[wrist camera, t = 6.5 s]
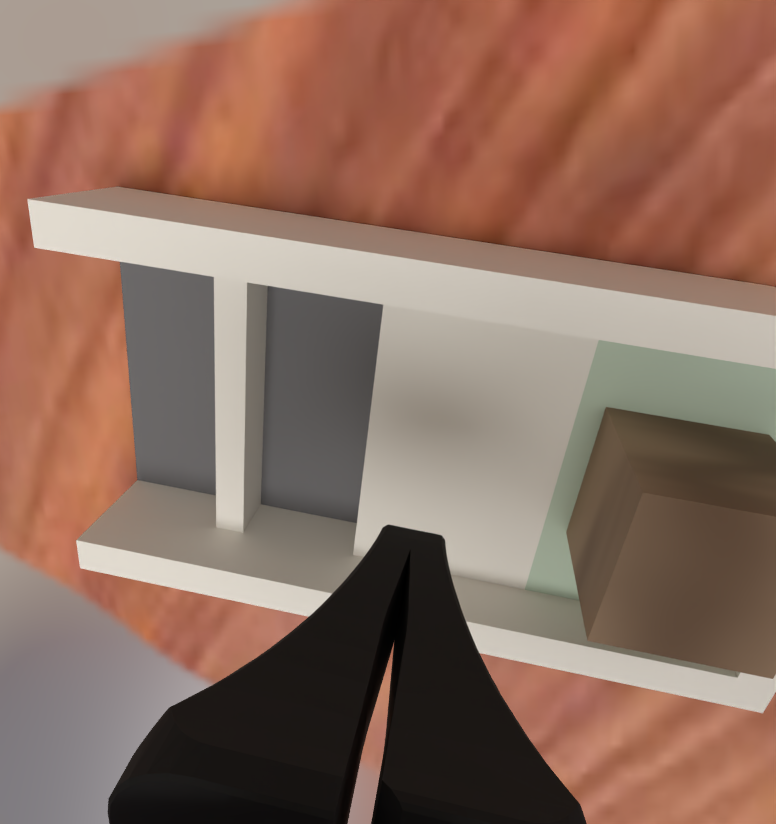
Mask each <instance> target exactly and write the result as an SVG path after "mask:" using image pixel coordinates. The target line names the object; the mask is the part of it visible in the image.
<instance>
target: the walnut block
mask: <svg viewBox="0 0 776 824" xmlns="http://www.w3.org/2000/svg"><path fill="white" fill-rule="evenodd" d="M566 534H567V539H568V545H569V550H570V555H571V560H572V565H573V570H574V575H575V581H576V586H577V591H578V596H579V601H580V606H581V611H582V616H583V622H584V627H585V632H586V637H587V641H590V642H595V643H600V644H605V645H610V646H615V647H620V648H624V649H629V650H634V651H639V652H644V653H649V654H654V655H658V656H663V657H668V658H673V659H678V660H683V661H688V662H692V663H697V664H702V665H707V666H712V667H717V668H722V669H726V670H731V671H736V672H741V673H746V674H751V675H756V676H760V677H765V678H770V679H773V678H774V676H775V675H776V442H775V441H774V440H773V438H772V437H771V436H770V435H768V434H762V433H756V432H750V431H744V430H738V429H733V428H727V427H721V426H715V425H709V424H703V423H698V422H692V421H686V420H680V419H674V418H668V417H663V416H657V415H651V414H645V413H639V412H633V411H627V410H622V409H616V408H610V407H606V408H605V411H604V415H603V418H602V421H601V424H600V427H599V430H598V433H597V437H596V440H595V443H594V446H593V449H592V452H591V456H590V459H589V462H588V465H587V468H586V471H585V474H584V478H583V481H582V484H581V487H580V490H579V493H578V497H577V500H576V503H575V506H574V509H573V512H572V516H571V519H570V522H569V525H568V528H567V531H566Z"/></svg>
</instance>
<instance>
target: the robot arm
mask: <svg viewBox="0 0 776 824" xmlns="http://www.w3.org/2000/svg"><path fill="white" fill-rule="evenodd" d="M393 643H394V650H393V661H392V672H391V683H390V695H389V706H388V717H387V728H386V738H385V746H384V753H383V760H382V766H381V771H380V777H379V783H378V789H377V794H376V800H375V806H374V811H373V817H372V822H371V824H586V820H585V817H584V814H583V811H582V808H581V806H580V804H579V803H578V801H577V800H576V799H575V798H574V797H573V795H572V794H571V793H570V792H569V790H568V789H567V788H566V787H565V786H564V784H563V783H562V782H561V781H560V780H559V778H558V777H557V776H556V775H555V774H554V772H553V771H552V770H551V768H550V767H549V766H548V765H547V763H546V762H545V761H544V759H543V758H542V756H541V755H540V754H539V752H538V751H537V749H536V748H535V747H534V745H533V744H532V742H531V741H530V740H529V738H528V737H527V735H526V734H525V732H524V731H523V729H522V728H521V726H520V724H519V723H518V721H517V720H516V718H515V716H514V715H513V713H512V712H511V710H510V709H509V707H508V705H507V704H506V702H505V701H504V699H503V697H502V696H501V694H500V692H499V690H498V688H497V687H496V685H495V683H494V681H493V679H492V678H491V676H490V674H489V672H488V670H487V668H486V666H485V664H484V662H483V660H482V658H481V656H480V654H479V651H478V649H477V647H476V645H475V642H474V640H473V638H472V635H471V633H470V630H469V628H468V625H467V623H466V620H465V618H464V615H463V612H462V609H461V606H460V603H459V600H458V597H457V594H456V591H455V588H454V584H453V581H452V577H451V573H450V569H449V564H448V559H447V553H446V544H445V539H444V538H443V536H442V535H439V534H434V533H429V532H424V531H419V530H414V529H409V528H404V527H399V526H394V525H389V524H388V525H386V526H384V527H383V528H382V530H381V532H380V534H379V535H378V537H377V539H376V540H375V542H374V543H373V545H372V546H371V548H370V549H369V551H368V552H367V553H366V555H365V556H364V557H363V559H362V560H361V561H360V563H359V564H358V565H357V566H356V567H355V569H354V570H353V571H352V572H351V574H350V575H349V576H348V577H347V578H346V580H345V581H344V582H343V583H342V584H341V585H340V586H339V587H338V588H337V589H336V590H335V591H334V592H333V593H332V595H331V596H330V597H329V598H328V599H327V600H326V601H325V602H324V603H323V604H322V605H321V606H320V607H319V608H318V609H317V610H316V611H315V612H314V613H312V614H311V615H310V616H309V617H308V618H307V619H306V620H305V621H303V622H302V623H301V624H300V625H299V626H298V627H297V628H295V629H294V630H293V631H292V632H290V633H289V634H288V635H287V636H285V637H284V638H283V639H281V640H280V641H279V642H278V643H276V644H275V645H274V646H272V647H271V648H270V649H268V650H267V651H266V652H264V653H263V654H261V655H260V656H259V657H257V658H256V659H254V660H252V661H251V662H249V663H248V664H246V665H245V666H243V667H241V668H240V669H238V670H237V671H235V672H234V673H232V674H230V675H229V676H227V677H226V678H224V679H222V680H221V681H219V682H217V683H216V684H214V685H212V686H210V687H208V688H206V689H204V690H202V691H200V692H199V693H197V694H195V695H193V696H191V697H189V698H187V699H185V700H183V701H181V702H179V703H178V704H176V705H173V706H171V707H170V708H169V709H168V710H167V711H166V712H165V713H164V714H163V716H162V717H161V718H160V719H159V721H158V722H157V723H156V725H155V726H154V727H153V728H152V730H151V731H150V732H149V734H148V735H147V736H146V738H145V739H144V741H143V742H142V743H141V744H140V746H139V747H138V749H137V750H136V752H135V753H134V755H133V756H132V758H131V760H130V762H129V763H128V766H127V767H126V769H125V771H124V773H123V774H122V776H121V778H120V780H119V781H118V783H117V785H116V787H115V788H114V790H113V792H112V794H111V796H110V797H109V801H108V817H109V823H110V824H347V823H348V818H349V813H350V807H351V803H352V798H353V793H354V788H355V784H356V778H357V773H358V769H359V764H360V759H361V754H362V750H363V746H364V742H365V738H366V734H367V731H368V727H369V724H370V721H371V717H372V714H373V710H374V707H375V704H376V700H377V697H378V694H379V690H380V687H381V684H382V680H383V677H384V674H385V670H386V667H387V663H388V660H389V657H390V653H391V650H392V647H393Z"/></svg>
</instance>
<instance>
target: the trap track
mask: <svg viewBox="0 0 776 824" xmlns="http://www.w3.org/2000/svg"><path fill="white" fill-rule="evenodd" d="M27 200H28V207H29V214H30V220H31V227H32V234H33V241H34V248H40V249H46V250H53V251H59V252H65V253H71V254H77V255H83V256H89V257H95V258H101V259H108V260H114V261H120V268H121V281H122V293H123V306H124V318H125V331H126V343H127V355H128V368H129V380H130V393H131V405H132V418H133V430H134V442H135V455H136V467H137V481H136V482H135V483H134V484H133V485H132V486H131V487H130V488H129V489H128V490H127V491H126V492H125V493H124V494H123V495H122V496H121V497H120V498H119V499H118V500H117V501H116V502H115V503H114V504H113V505H112V506H111V507H110V508H109V509H108V510H107V511H106V512H104V513H103V514H102V515H101V516H100V517H99V518H98V519H97V520H96V521H95V522H94V523H93V524H92V525H91V526H90V527H89V528H88V529H87V530H86V531H85V532H84V533H83V534H82V535H81V536H80V537H79V538H78V539H77V540H76V542H77V549H78V556H79V563H80V568H82V569H87V570H92V571H96V572H101V573H106V574H110V575H115V576H120V577H125V578H129V579H134V580H139V581H143V582H148V583H153V584H158V585H162V586H167V587H172V588H176V589H181V590H186V591H191V592H195V593H200V594H205V595H209V596H214V597H219V598H223V599H228V600H233V601H238V602H242V603H247V604H252V605H256V606H261V607H266V608H271V609H275V610H280V611H285V612H289V613H294V614H299V615H303V616H308V617H309V616H310V615H311V614H312V613H314V612H315V611H316V610H317V609H318V608H319V607H320V606H321V605H322V604H323V603H324V602H325V601H326V600H327V599H328V598H329V597H330V596H331V595H332V593H333V592H334V591H335V590H336V589H337V588H338V587H339V586H340V585H341V584H342V583H343V582H344V581H345V580H346V578H347V577H348V576H349V575H350V574H351V572H352V571H353V570H354V569H355V567H356V566H357V565H358V564H359V563H360V561H361V560H362V559H363V557H364V556H365V555H366V553H367V552H368V551H369V549H370V548H371V546H372V545H373V543H374V542H375V540H376V539H377V537H378V535H379V534H380V532H381V530H382V528H383V527H384V526H386V525H388V524H389V525H394V526H399V527H404V528H409V529H414V530H419V531H424V532H429V533H434V534H439V535H442V536H443V538H444V539H445V544H446V553H447V559H448V564H449V569H450V573H451V577H452V581H453V584H454V588H455V591H456V594H457V597H458V600H459V603H460V606H461V609H462V612H463V615H464V618H465V620H466V623H467V625H468V628H469V630H470V633H471V635H472V638H473V640H474V642H475V645H476V647H477V649H478V651H479V653H482V654H487V655H492V656H497V657H501V658H506V659H511V660H515V661H520V662H525V663H529V664H534V665H539V666H544V667H548V668H553V669H558V670H562V671H567V672H572V673H577V674H581V675H586V676H591V677H595V678H600V679H605V680H609V681H614V682H619V683H624V684H628V685H633V686H638V687H642V688H647V689H652V690H657V691H661V692H666V693H671V694H675V695H680V696H685V697H690V698H694V699H699V700H704V701H708V702H713V703H718V704H722V705H727V706H732V707H737V708H741V709H746V710H751V711H755V712H760V713H763V712H764V710H765V709H766V707H767V705H768V704H769V702H770V700H771V699H772V697H773V695H774V694H775V692H776V675H775V676H774V678H773V679H770V678H765V677H760V676H756V675H751V674H746V673H741V672H736V671H731V670H726V669H722V668H717V667H712V666H707V665H702V664H697V663H692V662H688V661H683V660H678V659H673V658H668V657H663V656H658V655H654V654H649V653H644V652H639V651H634V650H629V649H624V648H620V647H615V646H610V645H605V644H600V643H595V642H590V641H587V637H586V632H585V627H584V622H583V616H582V611H581V606H580V601H579V596H578V591H577V586H576V581H575V575H574V570H573V565H572V560H571V555H570V550H569V545H568V539H567V534H566V531H567V528H568V525H569V522H570V519H571V516H572V512H573V509H574V506H575V503H576V500H577V497H578V493H579V490H580V487H581V484H582V481H583V478H584V474H585V471H586V468H587V465H588V462H589V459H590V456H591V452H592V449H593V446H594V443H595V440H596V437H597V433H598V430H599V427H600V424H601V421H602V418H603V415H604V411H605V408H606V407H610V408H616V409H622V410H627V411H633V412H639V413H645V414H651V415H657V416H663V417H668V418H674V419H680V420H686V421H692V422H698V423H703V424H709V425H715V426H721V427H727V428H733V429H738V430H744V431H750V432H756V433H762V434H768V435H770V436H771V437H772V438H773V440H774V441H775V442H776V287H775V286H768V285H762V284H755V283H748V282H742V281H735V280H729V279H722V278H716V277H709V276H702V275H696V274H689V273H683V272H676V271H669V270H663V269H656V268H650V267H643V266H637V265H630V264H623V263H617V262H610V261H604V260H597V259H591V258H584V257H577V256H571V255H564V254H558V253H551V252H545V251H538V250H531V249H525V248H518V247H512V246H505V245H499V244H492V243H485V242H479V241H472V240H466V239H459V238H453V237H446V236H439V235H433V234H426V233H420V232H413V231H407V230H400V229H393V228H387V227H380V226H374V225H367V224H361V223H354V222H347V221H341V220H334V219H328V218H321V217H315V216H308V215H301V214H295V213H288V212H282V211H275V210H269V209H262V208H255V207H249V206H242V205H236V204H229V203H223V202H216V201H209V200H203V199H196V198H190V197H183V196H177V195H170V194H163V193H157V192H150V191H144V190H137V189H131V188H124V187H111V188H104V189H96V190H89V191H82V192H75V193H68V194H60V195H53V196H46V197H39V198H32V199H27Z"/></svg>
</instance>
